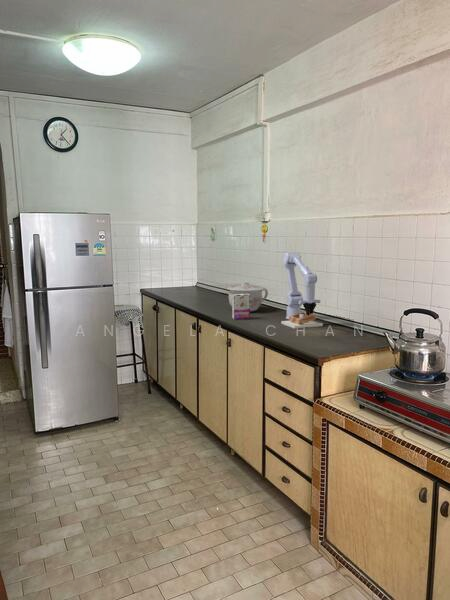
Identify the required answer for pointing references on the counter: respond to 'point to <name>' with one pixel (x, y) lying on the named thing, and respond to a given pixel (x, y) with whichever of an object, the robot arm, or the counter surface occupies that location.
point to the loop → (306, 318)
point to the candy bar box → (240, 306)
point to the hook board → (308, 324)
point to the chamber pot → (249, 289)
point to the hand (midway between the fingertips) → (309, 315)
